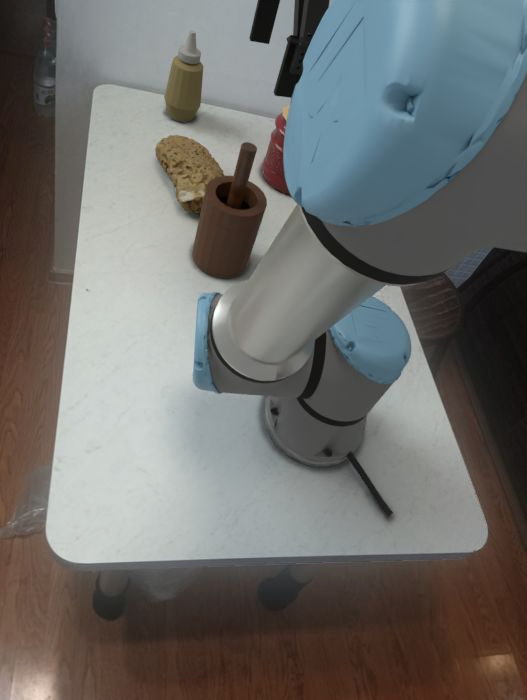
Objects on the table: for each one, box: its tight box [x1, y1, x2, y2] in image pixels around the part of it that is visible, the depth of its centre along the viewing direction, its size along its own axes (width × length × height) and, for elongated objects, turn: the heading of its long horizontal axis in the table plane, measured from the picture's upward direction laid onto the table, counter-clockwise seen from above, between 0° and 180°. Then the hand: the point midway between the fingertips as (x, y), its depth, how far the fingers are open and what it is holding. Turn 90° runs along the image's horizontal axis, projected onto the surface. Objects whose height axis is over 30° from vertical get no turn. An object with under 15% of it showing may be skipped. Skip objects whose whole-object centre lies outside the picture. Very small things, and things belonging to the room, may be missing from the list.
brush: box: [226, 141, 258, 210], centre depth 88 cm, size 4×4×22 cm
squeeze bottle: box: [163, 30, 204, 123], centre depth 115 cm, size 8×8×18 cm
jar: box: [191, 175, 268, 279], centre depth 92 cm, size 10×10×14 cm
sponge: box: [154, 134, 225, 214], centre depth 104 cm, size 13×8×20 cm
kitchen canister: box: [261, 103, 291, 196], centre depth 111 cm, size 13×13×18 cm
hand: (271, 67), depth 70 cm, fingers open, 13 cm apart
